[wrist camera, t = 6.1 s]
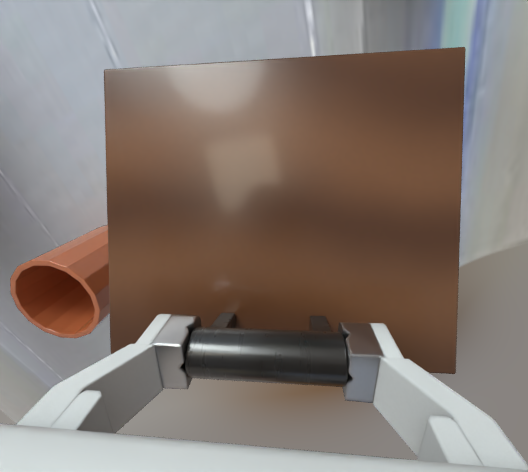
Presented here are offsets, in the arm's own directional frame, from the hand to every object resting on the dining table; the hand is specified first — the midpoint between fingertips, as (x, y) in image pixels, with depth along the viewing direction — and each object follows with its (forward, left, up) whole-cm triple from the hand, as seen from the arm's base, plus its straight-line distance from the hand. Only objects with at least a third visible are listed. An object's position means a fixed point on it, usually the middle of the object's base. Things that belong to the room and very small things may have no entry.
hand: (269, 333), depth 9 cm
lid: (0, +3, -4) cm, 5 cm away
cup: (-15, -4, -14) cm, 21 cm away
